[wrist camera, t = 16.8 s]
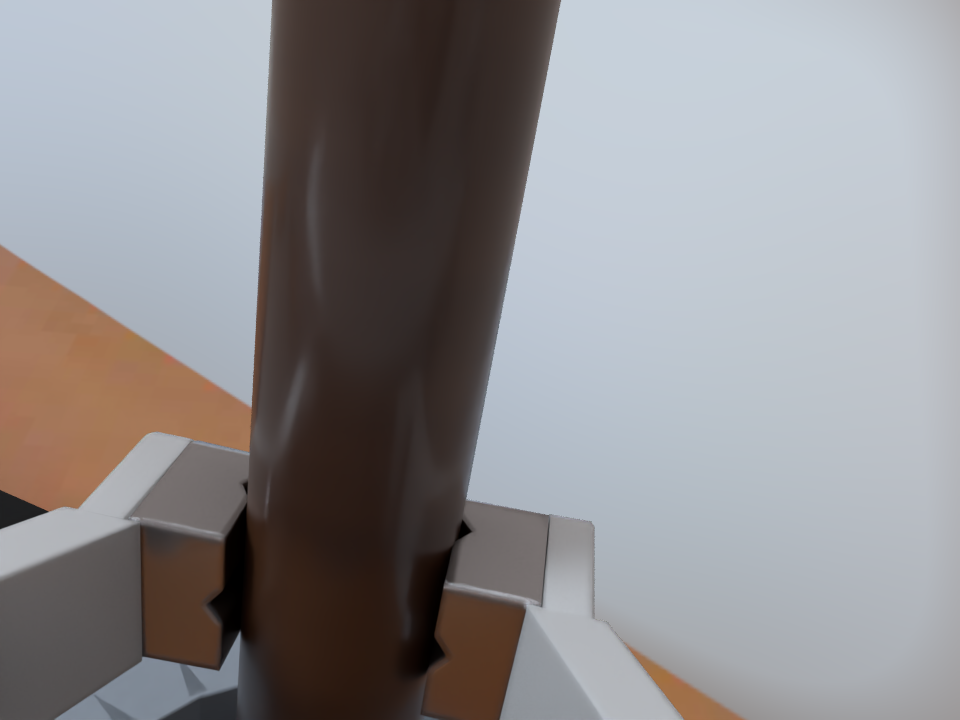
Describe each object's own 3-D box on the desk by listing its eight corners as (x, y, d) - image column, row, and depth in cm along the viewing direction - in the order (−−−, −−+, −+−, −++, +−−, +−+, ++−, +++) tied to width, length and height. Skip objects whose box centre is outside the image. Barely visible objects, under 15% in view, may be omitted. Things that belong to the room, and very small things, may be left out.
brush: (407, 971, 15) (675, -255, 7) (363, 1209, 12) (727, -380, 4) (230, 931, 15) (300, -320, 7) (147, 1158, 13) (109, -485, 4)
